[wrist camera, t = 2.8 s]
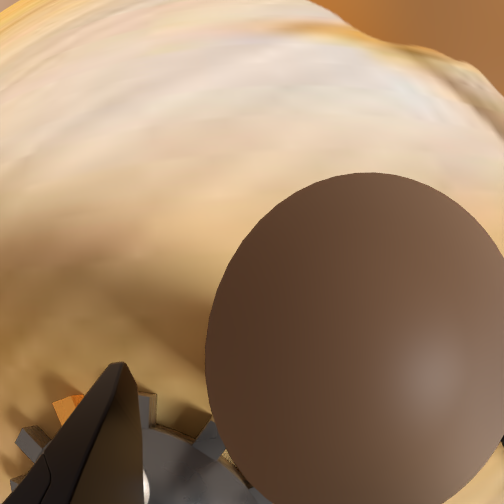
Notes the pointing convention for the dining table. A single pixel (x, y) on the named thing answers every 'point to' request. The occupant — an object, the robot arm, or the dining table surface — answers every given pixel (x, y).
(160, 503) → the sprocket plate
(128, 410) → the robot arm
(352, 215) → the brown cylinder
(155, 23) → the dining table surface
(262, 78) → the dining table surface
